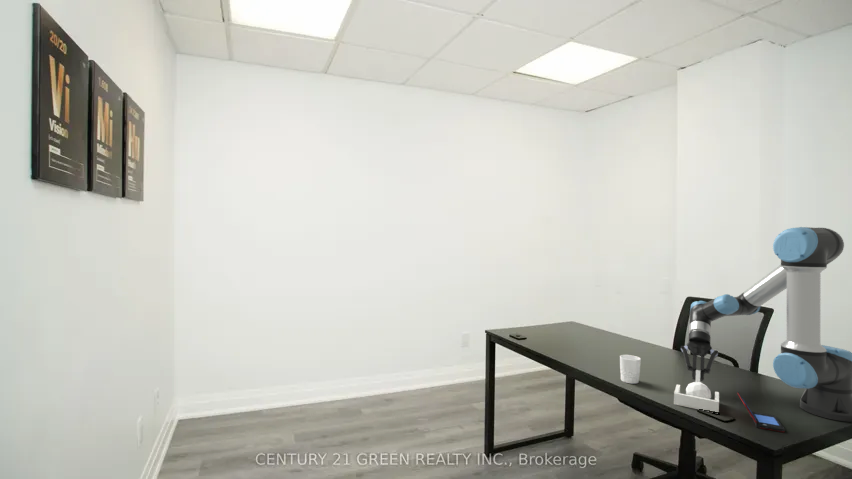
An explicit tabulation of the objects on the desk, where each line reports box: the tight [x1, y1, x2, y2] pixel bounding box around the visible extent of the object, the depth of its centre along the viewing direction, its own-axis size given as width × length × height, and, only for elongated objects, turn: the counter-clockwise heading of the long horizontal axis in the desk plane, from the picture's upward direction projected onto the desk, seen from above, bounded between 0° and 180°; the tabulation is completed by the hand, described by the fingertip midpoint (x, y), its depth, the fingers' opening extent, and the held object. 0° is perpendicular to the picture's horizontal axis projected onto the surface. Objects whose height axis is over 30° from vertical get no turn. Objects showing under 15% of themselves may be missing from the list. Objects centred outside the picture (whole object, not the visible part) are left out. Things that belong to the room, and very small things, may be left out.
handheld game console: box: [737, 391, 786, 433], centre depth 139 cm, size 12×11×7 cm
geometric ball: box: [685, 381, 712, 399], centre depth 154 cm, size 8×8×8 cm
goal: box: [673, 384, 720, 412], centre depth 153 cm, size 11×13×4 cm
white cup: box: [619, 354, 642, 385], centre depth 176 cm, size 8×8×10 cm
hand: (697, 387), depth 160 cm, fingers closed
